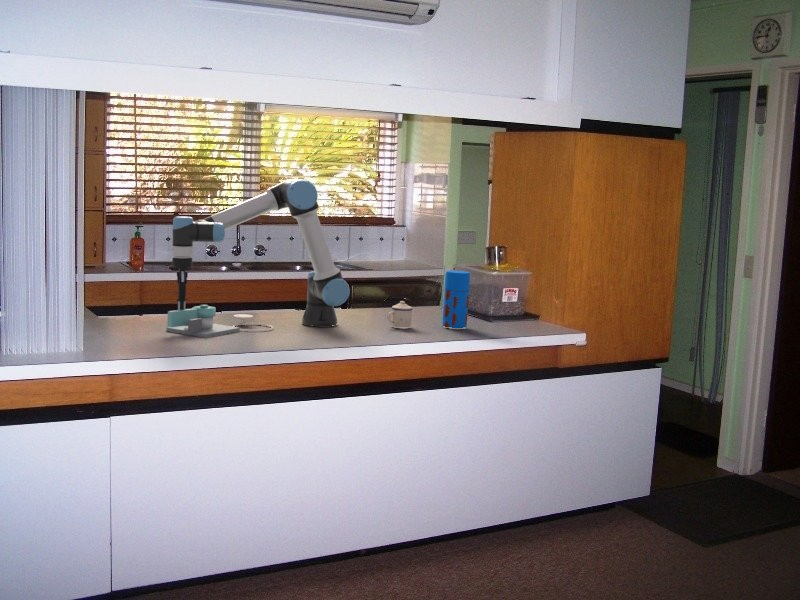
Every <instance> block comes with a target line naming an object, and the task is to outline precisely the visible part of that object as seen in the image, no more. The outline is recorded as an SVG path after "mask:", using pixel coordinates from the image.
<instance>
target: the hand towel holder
mask: <svg viewBox="0 0 800 600" xmlns="http://www.w3.org/2000/svg"><path fill="white" fill-rule="evenodd" d="M253 317H254V315H252V314H247V313H246V314H245V313H242V314H241V313H239V314H234V315H233V318H236V319H241V322H240V323H235V324H233V325H231V326H232V327H235V326H236V327H239V326H238V325H245V326H257V325H261V326H260V327H266V326H267V329H264V328H263V329H244V328H240V331H239V332H244V331H248V332H247V333H265V332H264V331H267V332H271V331H273V330H274V325H271V324H267V323H259V322H246V320H248V319H252V318H253ZM270 327H271V328H270ZM270 330H271V331H270Z"/></svg>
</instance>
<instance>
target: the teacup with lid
mask: <svg viewBox="0 0 800 600" xmlns="http://www.w3.org/2000/svg"><path fill="white" fill-rule="evenodd" d="M412 312H413V307H412V306H410V305H408V304H407V303H405V300H404V301H403V300H400V301H399V303H396V304H395V305H392V306H391V311H390V312H388V313H387V317H386V318H387V320H388V322H389V323H390V324H391V325H392V326H395V327H410V326H411V327H412V316H413V314H412ZM390 317H391V318H390Z"/></svg>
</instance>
